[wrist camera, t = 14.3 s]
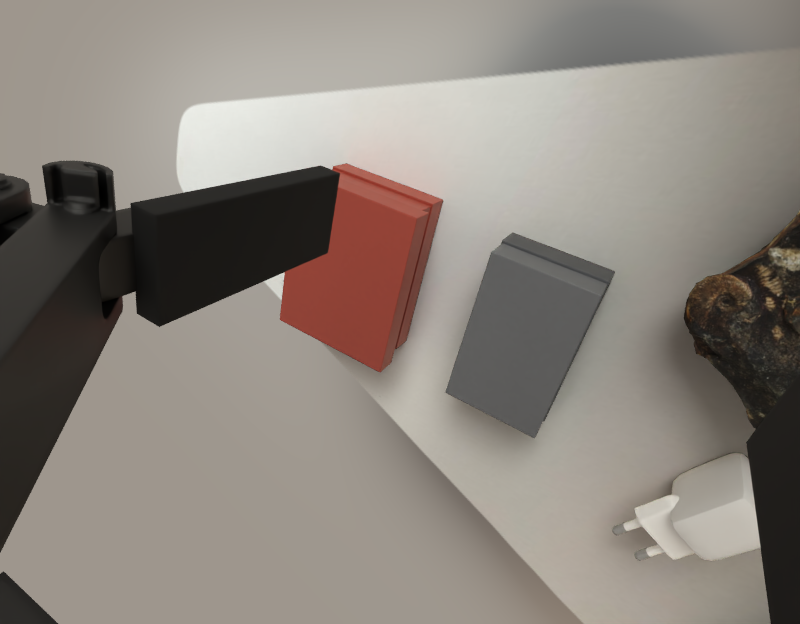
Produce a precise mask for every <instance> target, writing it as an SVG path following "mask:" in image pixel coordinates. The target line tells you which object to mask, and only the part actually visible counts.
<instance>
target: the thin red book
mask: <svg viewBox="0 0 800 624" xmlns="http://www.w3.org/2000/svg"><path fill="white" fill-rule="evenodd" d="M428 214H429V213H428V212H425V211H422V210H420V209H417V208H415V207H412V206H409V205H407V204H404V203H402V202H399V201H397V200H394V199H391V198H389V197H386V196H384V195H381V194H379V193H376V192H373V191H371V190H368V189H366V188H363V187H360V186H358V185H355V184H353V183H350V182H348V181H345V180H342V179H340V178H339V184H338V191H337V198H336V204H335V211H334V217H333V224H332V230H331V237H330V243H329V250H328V253H327V254H325V255H322V256H320V257H318V258H315V259H313V260H311V261H309V262H306V263H304V264H302V265H299V266H297V267H295V268H293V269H290V270H288V271H286V272H285V276H284V286H283V295H282V304H281V313H280V320H281V321H283V322H285V323H287V324H289V325H291V326H293V327H295V328H296V329H298V330H300V331H302V332H304V333H306V334H308V335H310V336H312V337H314V338H315V339H318V340H319V341H321V342H323V343H325V344H327V345H329V346H331V347H333V348H334V349H336V350H338V351H340V352H342V353H344V354H346V355H348V356H350V357H352V358H353V359H355V360H357V361H359V362H361V363H363V364H365V365H367V366H369V367H371V368H372V369H374V370H376V371H378V372H381V371H382V370H383V369H385V368H386V367H387V366H388V365H389V364H390V363H391V362H392V358H393V354H394V350H395V346H396V342H397V338H398V334H399V330H400V326H401V322H402V318H403V314H404V310H405V306H406V302H407V298H408V294H409V290H410V286H411V282H412V278H413V274H414V270H415V266H416V262H417V258H418V254H419V250H420V246H421V242H422V238H423V234H424V230H425V226H426V222H427V218H428Z"/></svg>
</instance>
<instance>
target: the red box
mask: <svg viewBox="0 0 800 624" xmlns="http://www.w3.org/2000/svg"><path fill="white" fill-rule="evenodd" d="M333 171H336V172H338V173H340V179H342V180H345V181H348V182H350V183H353V184H355V185H358V186H360V187H363V188H366V189H368V190H371V191H373V192H376V193H379V194H381V195H384V196H386V197H389V198H391V199H394V200H397V201H399V202H402V203H404V204H407V205H409V206H412V207H415V208H417V209H420V210H422V211H425V212H428V213H429V214H428V218H427V222H426V226H425V230H424V234H423V238H422V242H421V246H420V250H419V254H418V258H417V262H416V266H415V270H414V274H413V278H412V282H411V286H410V290H409V294H408V298H407V302H406V306H405V310H404V314H403V318H402V322H401V326H400V330H399V334H398V338H397V342H396V346H395V349H397V348H398V347H399V346H401V345H402V344H403V343H404V342H405V341H406V340H407V336H408V332H409V328H410V324H411V321H412V317H413V313H414V309H415V305H416V302H417V298H418V294H419V290H420V286H421V283H422V279H423V275H424V271H425V267H426V263H427V260H428V256H429V252H430V248H431V244H432V241H433V237H434V233H435V229H436V225H437V222H438V218H439V214H440V210H441V206H442V202H443V200H442V199H440V198H437V197H434V196H432V195H429V194H426V193H424V192H421V191H418V190H416V189H413V188H410V187H408V186H405V185H402V184H400V183H397V182H394V181H391V180H389V179H386V178H383V177H381V176H378V175H375V174H373V173H370V172H367V171H365V170H362V169H359V168H357V167H354V166H351V165H349V164H342V165H338V166H333Z"/></svg>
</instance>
